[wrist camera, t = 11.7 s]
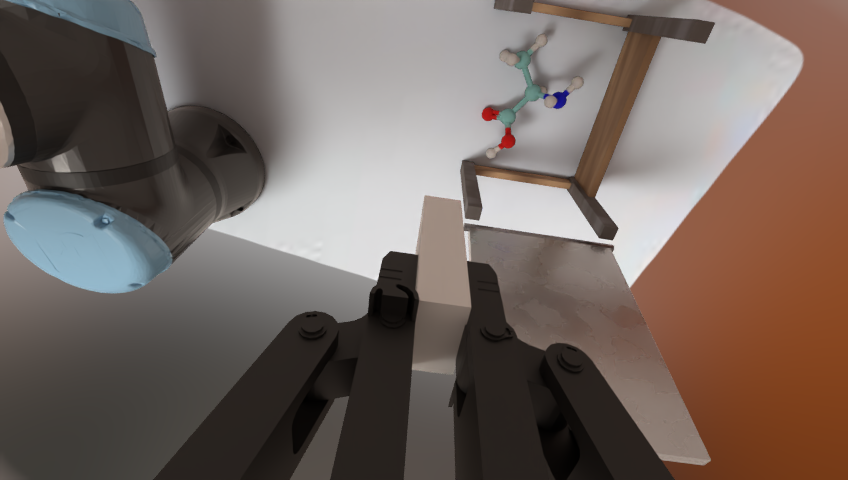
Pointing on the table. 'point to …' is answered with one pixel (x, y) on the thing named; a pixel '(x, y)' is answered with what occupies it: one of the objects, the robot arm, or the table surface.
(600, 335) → the lid
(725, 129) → the table surface
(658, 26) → the housing
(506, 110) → the molecular model
